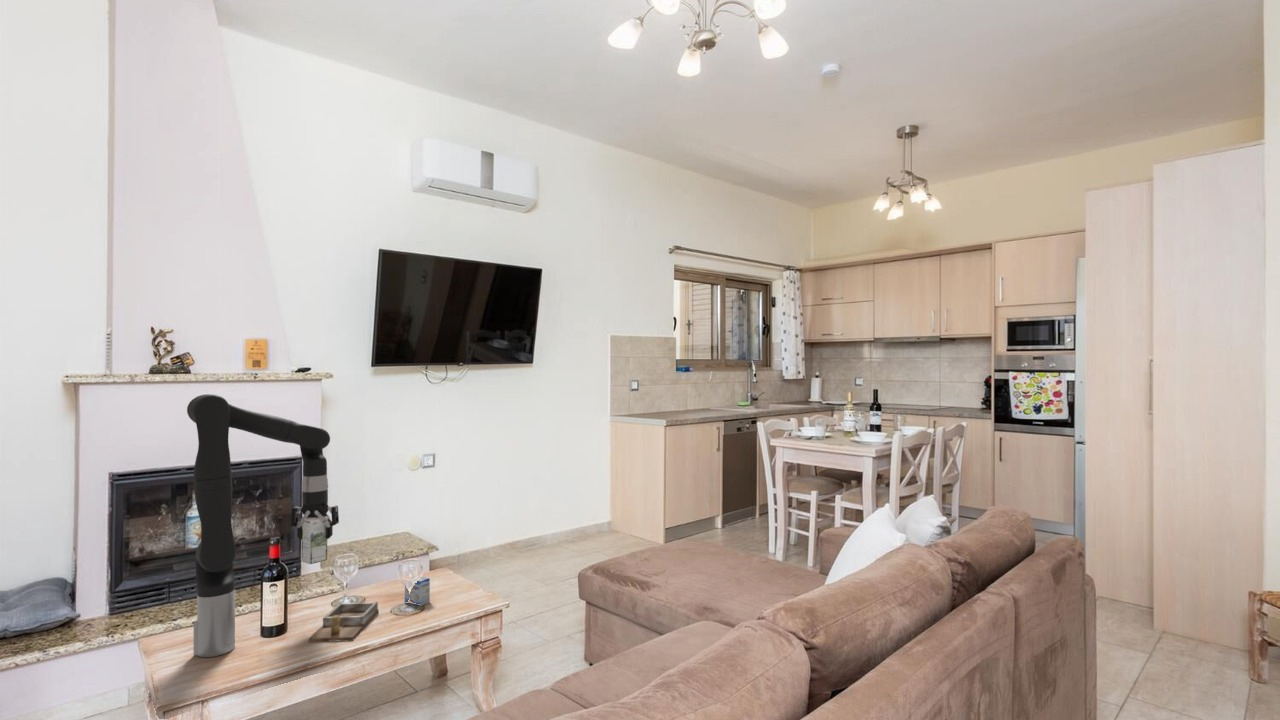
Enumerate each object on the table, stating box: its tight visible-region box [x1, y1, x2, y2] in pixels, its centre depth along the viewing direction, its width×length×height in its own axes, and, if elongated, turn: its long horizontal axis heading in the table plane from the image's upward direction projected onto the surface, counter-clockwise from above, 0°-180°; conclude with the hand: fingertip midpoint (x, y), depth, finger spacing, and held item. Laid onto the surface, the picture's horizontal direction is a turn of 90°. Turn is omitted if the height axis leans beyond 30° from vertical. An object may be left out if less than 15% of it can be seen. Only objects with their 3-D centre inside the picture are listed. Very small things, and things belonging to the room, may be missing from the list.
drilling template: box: [308, 601, 380, 643], centre depth 201 cm, size 13×22×6 cm, turn 3°
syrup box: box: [300, 516, 328, 565], centre depth 205 cm, size 6×6×14 cm
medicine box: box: [404, 576, 431, 606], centre depth 221 cm, size 8×4×9 cm, turn 62°
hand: (315, 538), depth 205 cm, fingers closed on syrup box, 8 cm apart
